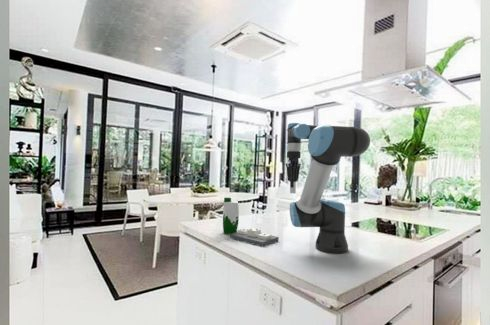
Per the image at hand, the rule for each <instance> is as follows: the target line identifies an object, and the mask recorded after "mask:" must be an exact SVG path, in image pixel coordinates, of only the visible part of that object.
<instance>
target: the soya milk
mask: <svg viewBox="0 0 490 325" xmlns="http://www.w3.org/2000/svg"><path fill="white" fill-rule="evenodd" d="M223 198H224V199H223V207H222V209H223V210H222V230H223V234H227V235H230V234H232V233H236V232H238V227H239V213H240V211H239V201H238V200H232V198H231V197H223Z"/></svg>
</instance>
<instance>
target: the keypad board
mask: <svg viewBox="0 0 490 325" xmlns="http://www.w3.org/2000/svg"><path fill="white" fill-rule="evenodd" d="M262 233H263V232H262ZM262 233H261V234H262ZM270 235H271V239H268V240H263V239H259V238H258V237H251V236H247V234H246V235H242V234H238V231H237V232H236V233H232V234H229V239H233V240H237V241H240V242H244V243H249V244H252V245H255V246H260V247H265V246H267V245H270V244H273V243H276V242H279V236H275V235H272V234H270Z"/></svg>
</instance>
